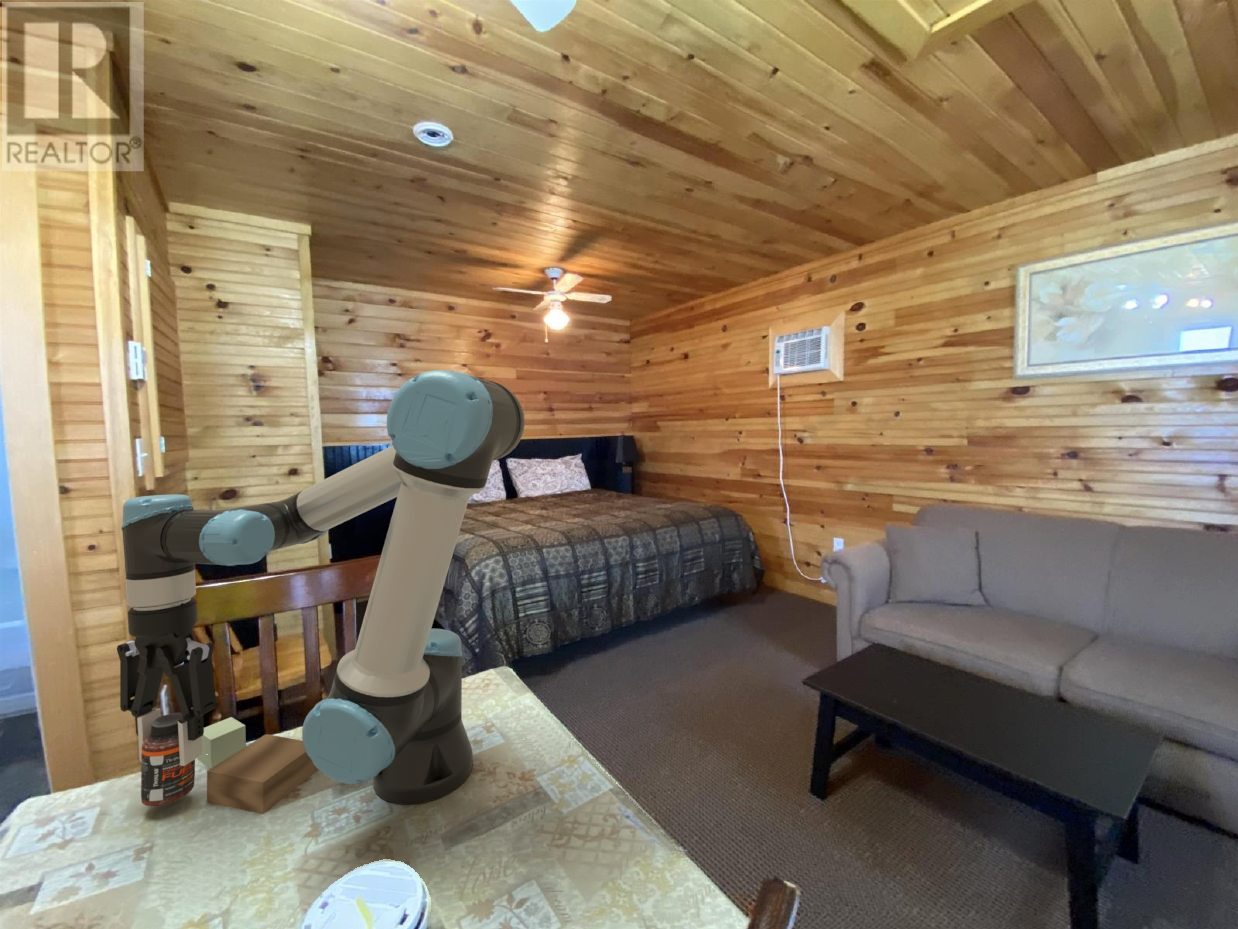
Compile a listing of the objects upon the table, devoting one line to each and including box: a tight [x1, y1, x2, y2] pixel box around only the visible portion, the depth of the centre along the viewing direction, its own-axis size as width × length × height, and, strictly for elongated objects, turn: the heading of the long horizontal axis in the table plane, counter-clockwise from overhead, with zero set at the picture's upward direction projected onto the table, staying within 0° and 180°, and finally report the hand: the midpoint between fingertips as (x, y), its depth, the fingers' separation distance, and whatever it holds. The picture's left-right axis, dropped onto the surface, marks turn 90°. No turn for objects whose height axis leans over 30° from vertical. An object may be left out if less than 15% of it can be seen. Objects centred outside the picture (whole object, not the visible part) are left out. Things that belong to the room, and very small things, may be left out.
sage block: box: [197, 716, 247, 769], centre depth 88 cm, size 5×5×5 cm
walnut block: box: [206, 733, 318, 815], centre depth 81 cm, size 10×10×5 cm
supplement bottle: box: [140, 712, 196, 807], centre depth 76 cm, size 6×6×11 cm
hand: (171, 758), depth 76 cm, fingers closed on supplement bottle, 6 cm apart
